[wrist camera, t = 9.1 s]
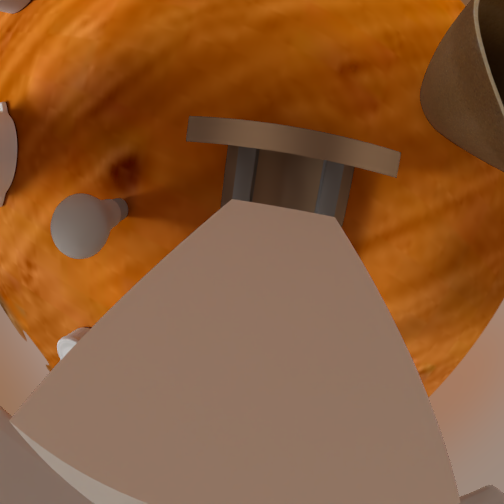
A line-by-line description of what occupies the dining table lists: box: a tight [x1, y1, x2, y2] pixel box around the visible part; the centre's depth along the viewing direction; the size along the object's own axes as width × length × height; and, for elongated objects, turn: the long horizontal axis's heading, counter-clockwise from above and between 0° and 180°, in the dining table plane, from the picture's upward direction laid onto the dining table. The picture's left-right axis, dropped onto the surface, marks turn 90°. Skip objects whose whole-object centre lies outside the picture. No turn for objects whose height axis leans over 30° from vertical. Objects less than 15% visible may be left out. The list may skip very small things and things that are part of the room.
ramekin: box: [57, 328, 90, 360], centre depth 37 cm, size 11×11×5 cm
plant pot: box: [420, 0, 504, 172], centre depth 13 cm, size 15×15×16 cm
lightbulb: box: [51, 194, 128, 259], centre depth 24 cm, size 6×6×11 cm
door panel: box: [9, 199, 460, 504], centre depth 8 cm, size 4×14×10 cm, turn 172°
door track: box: [186, 116, 401, 228], centre depth 23 cm, size 12×21×12 cm, turn 172°
